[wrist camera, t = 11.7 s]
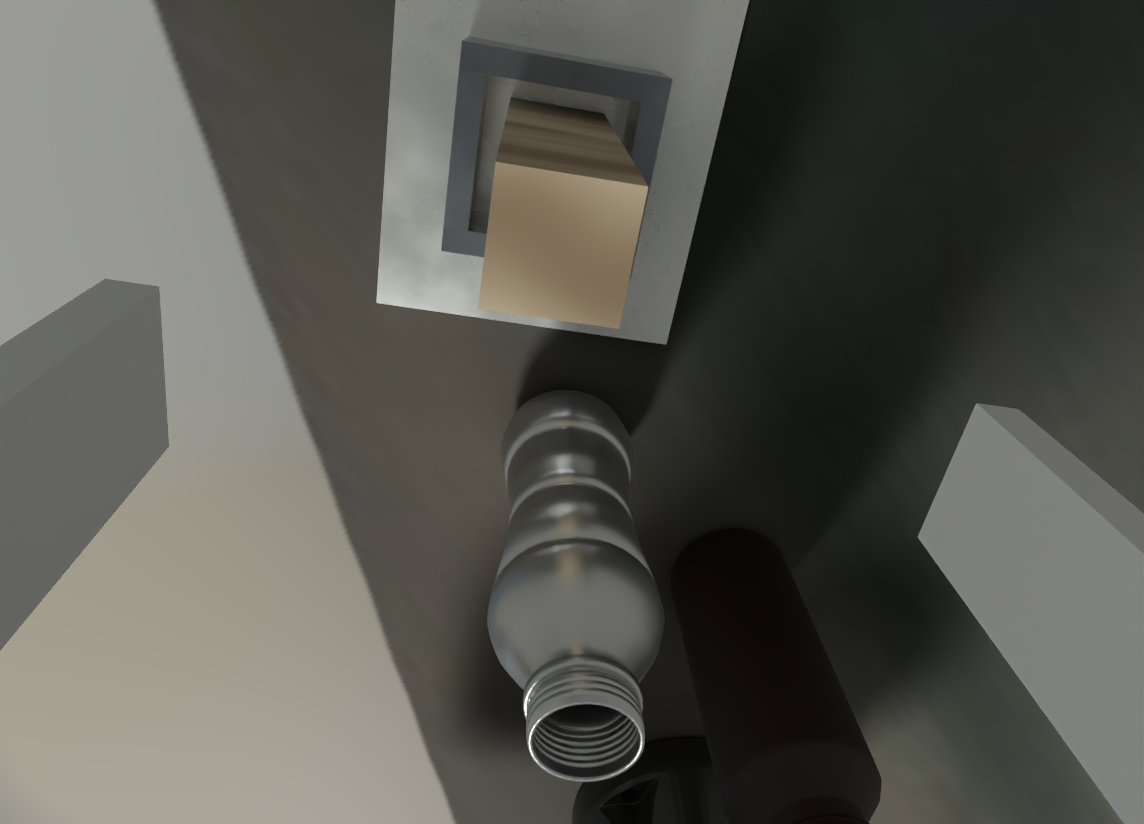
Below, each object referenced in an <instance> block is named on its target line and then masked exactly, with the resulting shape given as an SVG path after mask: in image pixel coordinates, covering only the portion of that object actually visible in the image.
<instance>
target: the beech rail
mask: <svg viewBox="0 0 1144 824" xmlns="http://www.w3.org/2000/svg"><path fill="white" fill-rule="evenodd" d="M647 191H648V185H647V183H646V182H645V180H644V178H643V177H642V175H641V174H640V172H639V170H638V169H637V167H636V165H635V164H634V162H633V160H632V159H631V157H630V155H629V154H628V152H627V150H626V149H625V147H624V145H623V144H622V142H621V141H620V139H619V137H618V136H617V134H616V132H615V131H614V129H613V127H612V126H611V124H610V122H609V121H608V119H607V117H606V116H605V114H604V113H599V112H593V111H587V110H582V109H576V108H570V107H564V106H558V105H553V104H547V103H541V102H535V101H530V100H524V99H518V98H512V97H511V99H510V103H509V107H508V111H507V115H506V120H505V124H504V128H503V132H502V136H501V141H500V145H499V149H498V153H497V157H496V162H495V170H494V178H493V187H492V195H491V203H490V212H489V220H488V228H487V237H486V245H485V253H484V262H483V270H482V278H481V287H480V295H479V303H478V309H483V310H490V311H497V312H504V313H511V314H518V315H525V316H532V317H539V318H546V319H553V320H560V321H567V322H574V323H581V324H588V325H595V326H602V327H609V328H616V329H619V327H620V322H621V317H622V313H623V308H624V303H625V298H626V293H627V288H628V283H629V279H630V274H631V269H632V264H633V259H634V254H635V250H636V245H637V240H638V235H639V230H640V225H641V220H642V216H643V211H644V206H645V201H646V196H647Z"/></svg>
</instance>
